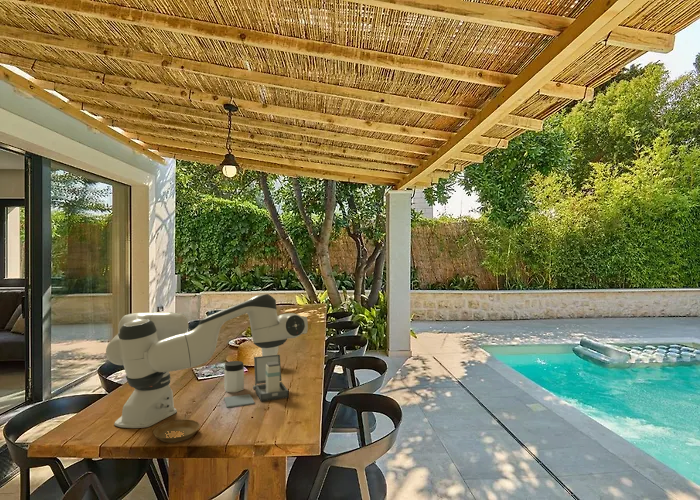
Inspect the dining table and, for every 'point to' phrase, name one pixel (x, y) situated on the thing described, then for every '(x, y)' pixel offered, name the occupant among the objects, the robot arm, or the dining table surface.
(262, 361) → the grey picture frame
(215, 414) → the dining table surface
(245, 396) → the mat
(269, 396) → the case
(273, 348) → the foam cup
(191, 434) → the plant saucer
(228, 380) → the jar
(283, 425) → the dining table surface
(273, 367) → the block
